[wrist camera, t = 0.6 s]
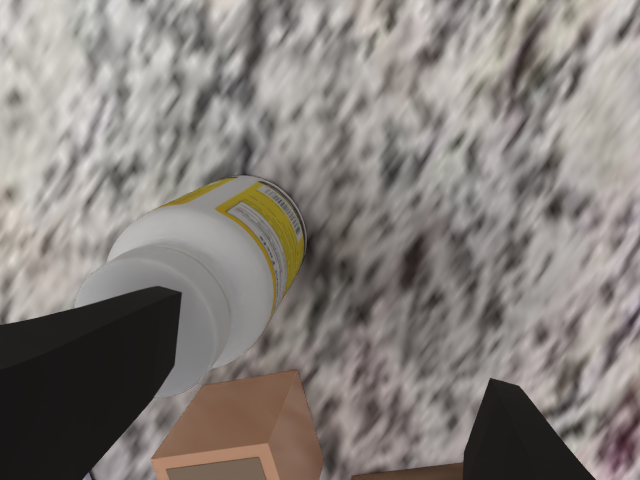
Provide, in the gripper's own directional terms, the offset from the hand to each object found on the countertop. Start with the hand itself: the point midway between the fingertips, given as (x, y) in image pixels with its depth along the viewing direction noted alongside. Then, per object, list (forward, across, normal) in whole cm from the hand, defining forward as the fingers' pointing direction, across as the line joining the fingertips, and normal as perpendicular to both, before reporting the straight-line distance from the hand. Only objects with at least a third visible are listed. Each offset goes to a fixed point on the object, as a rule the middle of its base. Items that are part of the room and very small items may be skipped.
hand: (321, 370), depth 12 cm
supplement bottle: (+11, +5, +2) cm, 12 cm away
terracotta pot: (+10, +3, +10) cm, 15 cm away
